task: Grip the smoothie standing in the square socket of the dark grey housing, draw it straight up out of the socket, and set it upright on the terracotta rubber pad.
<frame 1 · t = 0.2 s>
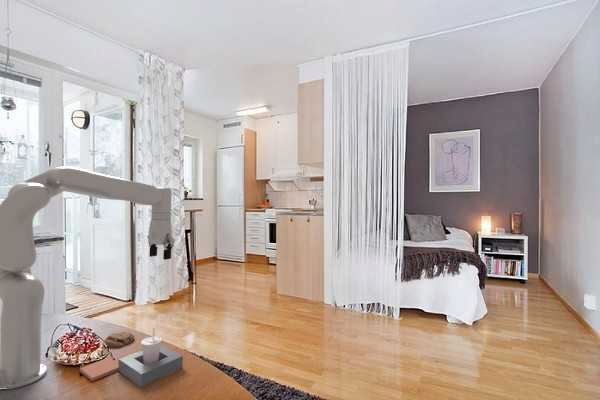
hand: (160, 257, 134), 31 cm above the table, tool pointing down, fingers open, 9 cm apart
smoothie: (150, 370, 105), resting in housing
pad: (101, 370, 104), on the table
cookie: (118, 343, 124), on the table
housing: (150, 369, 105), on the table
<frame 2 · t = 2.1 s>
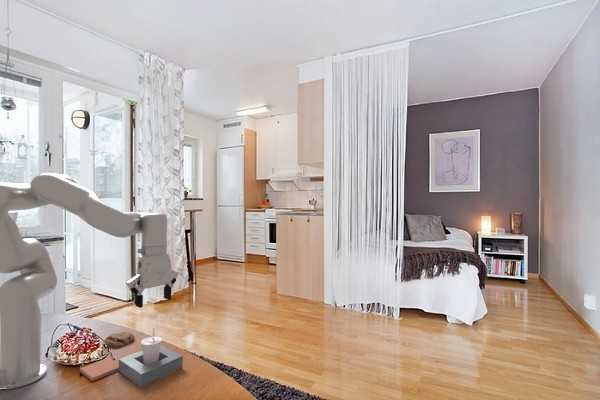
hand: (153, 302, 105), 22 cm above the table, tool pointing down, fingers open, 9 cm apart
nothing on the table moved.
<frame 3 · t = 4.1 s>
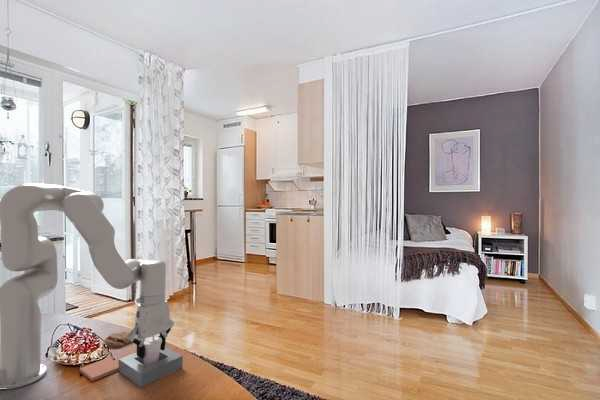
hand: (151, 352, 105), 6 cm above the table, tool pointing down, fingers closed on smoothie, 6 cm apart
smoothie: (150, 370, 105), resting in housing, touching gripper
everything else where it was.
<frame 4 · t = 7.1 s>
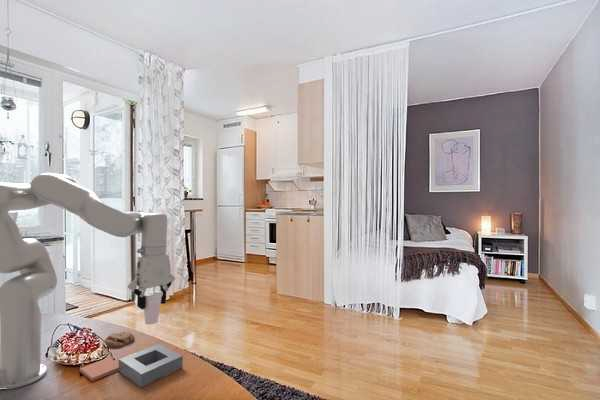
hand: (152, 304, 105), 21 cm above the table, tool pointing down, fingers closed on smoothie, 6 cm apart
smoothie: (151, 322, 105), point 15 cm above the table, touching gripper
everything else where it was.
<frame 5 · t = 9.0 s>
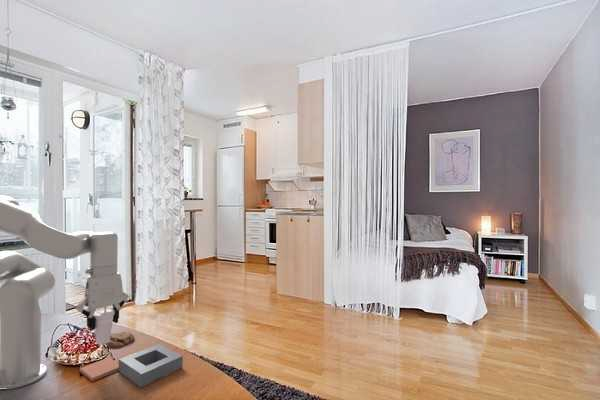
hand: (103, 324, 104), 15 cm above the table, tool pointing down, fingers closed on smoothie, 6 cm apart
smoothie: (103, 342, 104), point 9 cm above the table, touching gripper
everything else where it was.
when the fingers open (8 cm above the table, at t = 10.5 s): smoothie drops 1 cm, resting on pad.
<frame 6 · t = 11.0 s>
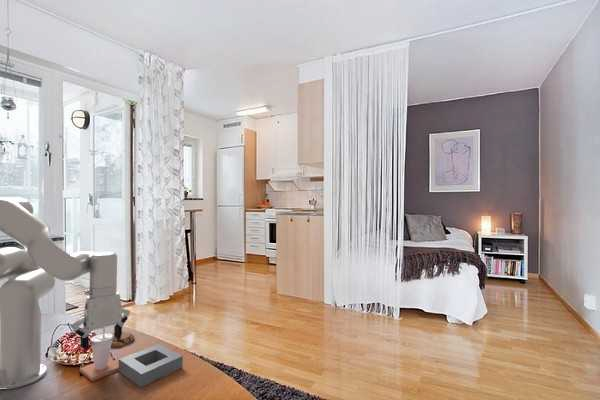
hand: (101, 343, 104), 9 cm above the table, tool pointing down, fingers open, 9 cm apart
smoothie: (101, 367, 104), point 1 cm above the table, touching pad
everything else where it was.
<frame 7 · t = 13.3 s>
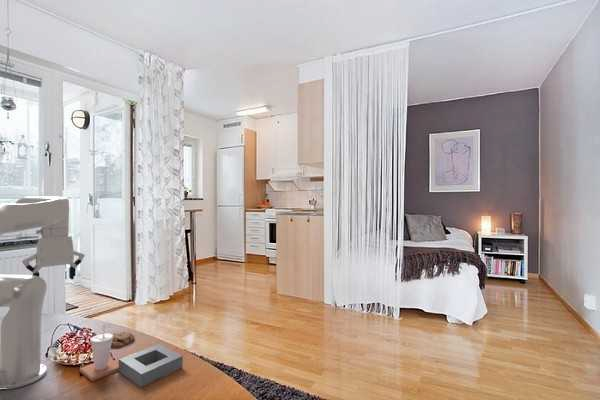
hand: (54, 281, 112), 26 cm above the table, tool pointing down, fingers open, 9 cm apart
nothing on the table moved.
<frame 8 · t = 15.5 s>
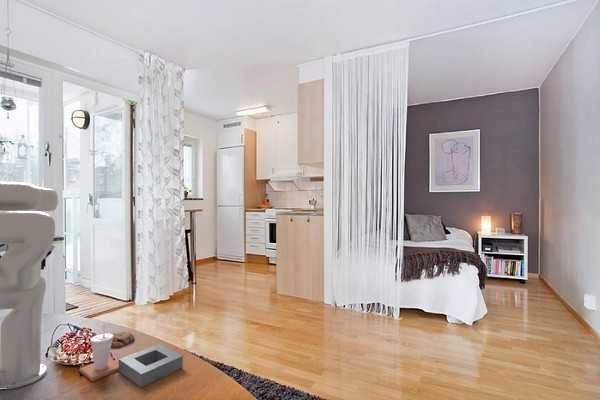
hand: (24, 271, 116), 28 cm above the table, tool pointing down, fingers open, 9 cm apart
nothing on the table moved.
at the end: smoothie 0.1 cm off-centre on the pad, point 0.8 cm above the pad's base; smoothie tilted 0°; the gripper is holding nothing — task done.
